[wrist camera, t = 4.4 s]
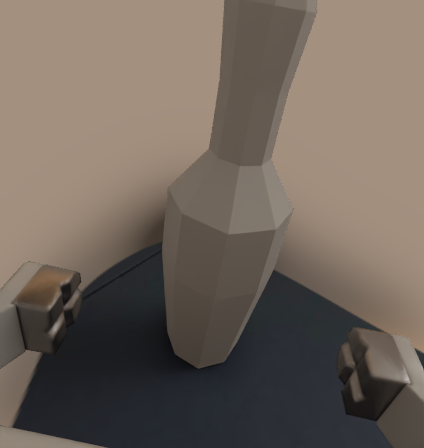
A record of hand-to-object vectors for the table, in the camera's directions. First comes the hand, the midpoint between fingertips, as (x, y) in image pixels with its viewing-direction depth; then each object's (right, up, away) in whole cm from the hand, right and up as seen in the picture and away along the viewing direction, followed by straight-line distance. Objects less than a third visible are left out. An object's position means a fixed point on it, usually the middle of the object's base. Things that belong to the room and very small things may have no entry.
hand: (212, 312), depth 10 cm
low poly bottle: (-1, -5, +14) cm, 15 cm away
